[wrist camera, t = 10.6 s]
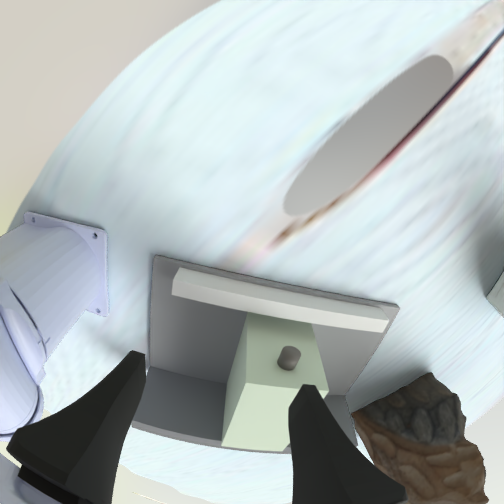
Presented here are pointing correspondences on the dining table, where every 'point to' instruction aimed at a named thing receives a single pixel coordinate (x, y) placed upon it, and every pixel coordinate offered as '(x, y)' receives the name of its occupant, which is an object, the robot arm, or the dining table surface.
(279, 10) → the dining table surface
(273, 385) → the cabinet block
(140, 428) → the grey piece
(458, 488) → the owl
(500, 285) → the supplement box
